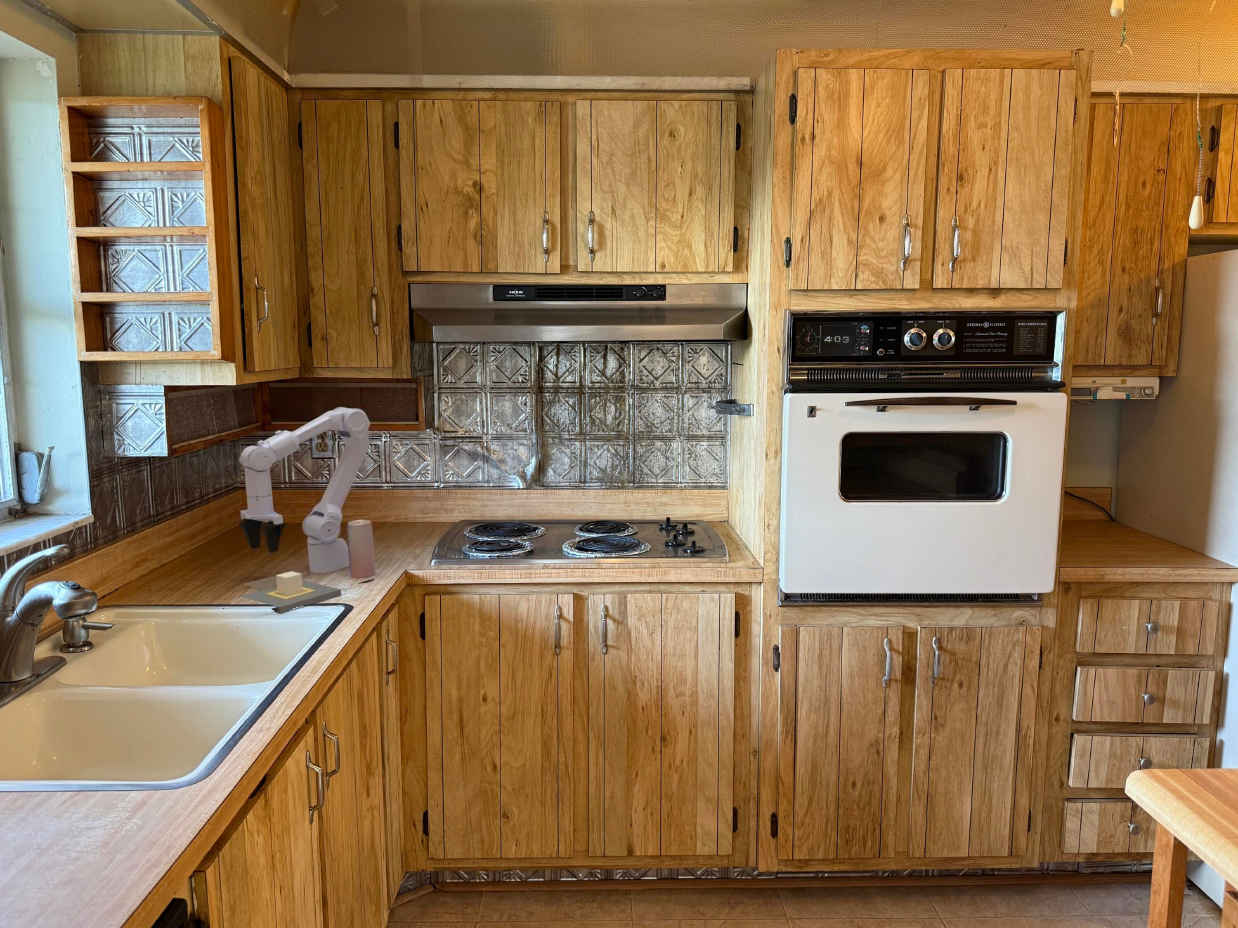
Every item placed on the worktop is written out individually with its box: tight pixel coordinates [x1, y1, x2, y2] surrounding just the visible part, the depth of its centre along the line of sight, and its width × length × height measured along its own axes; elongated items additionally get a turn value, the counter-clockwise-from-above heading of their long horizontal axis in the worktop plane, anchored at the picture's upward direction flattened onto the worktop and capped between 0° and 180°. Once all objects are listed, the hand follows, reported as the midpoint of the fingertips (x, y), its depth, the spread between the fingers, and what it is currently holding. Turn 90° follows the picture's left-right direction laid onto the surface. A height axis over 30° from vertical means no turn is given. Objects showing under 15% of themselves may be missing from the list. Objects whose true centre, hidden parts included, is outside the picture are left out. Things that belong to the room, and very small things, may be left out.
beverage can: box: [346, 519, 376, 585], centre depth 217 cm, size 6×6×15 cm
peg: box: [275, 571, 304, 597], centre depth 203 cm, size 4×4×6 cm
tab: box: [243, 576, 277, 590], centre depth 213 cm, size 8×8×2 cm
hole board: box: [240, 579, 342, 615], centre depth 204 cm, size 16×16×2 cm
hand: (264, 549), depth 213 cm, fingers open, 7 cm apart
